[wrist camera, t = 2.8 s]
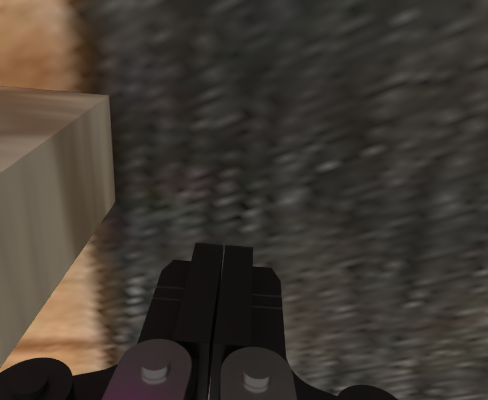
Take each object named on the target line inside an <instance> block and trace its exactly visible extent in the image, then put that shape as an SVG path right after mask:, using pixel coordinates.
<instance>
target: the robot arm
mask: <svg viewBox="0 0 488 400" xmlns="http://www.w3.org/2000/svg"><path fill="white" fill-rule="evenodd" d="M222 259H223V245H218V244H206V243H196V244H195V247H194V252H193V256H192V260H191V261H181V260H173V261H172V262H171V263H170V264H169V265H168V266H167V267H165V268H164V269H163V270H162V271H161V274H160V277H159V280H158V283H157V288H156V289H155V292H154V295H153V299H152V301H151V304H150V307H149V310H148V313H147V316H146V319H145V322H144V325H143V328H142V331H141V334H140V337H139V340H138V343H137V344H136V345H134V346H133V347H131V348H130V349H129V350H127V351H126V352H125V353H124V355H123V356H122V358H121V359H120V361H119V363H118V364H117V365H115V366H113V367H110V368H107V369H105V370H101V371H96V372H91V373H85V374H80V375H74V376H72V373H71V370H70V369H69V367H68V366H67V365H66V364H64V363H63V362H61V361H59V360H56V359H53V358H33V359H29V360H25V361H22V362H20V363H17V364H15V365H13V366H11V367H9V368H8V369H6V370H4V371H2V372H0V400H208V393H209V385H210V377H211V386H210V400H398V399H396V398H395V397H394V396H392V395H391V394H389V393H388V392H386V391H384V390H382V389H379V388H376V387H373V386H368V385H354V386H351V387H348V388H346V389H344V390H343V391H342V392H340V393H339V395H338V396H335V395H333V394H330V393H327V392H324V391H322V390H319V389H317V388H314V387H312V386H310V385H308V384H307V383H305V382H304V381H302V380H301V379H300V378H299V377H298V376H297V375H296V374H295V373H294V372H293V371H292V369H291V368H290V366H289V364H288V362H287V358H286V350H285V336H284V323H283V310H282V298H281V282H280V280H279V278H278V277H277V275H276V274H275V272H274V271H273V270H272V268H265V267H253V247H243V246H231V245H226V246H225V254H224V262H223V270H222ZM221 273H222V278H221ZM211 369H212V371H211Z"/></svg>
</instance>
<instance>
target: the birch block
mask: <svg viewBox="0 0 488 400" xmlns="http://www.w3.org/2000/svg"><path fill="white" fill-rule="evenodd" d="M114 203H115V185H114V169H113V152H112V136H111V120H110V103H109V95H98V94H87V93H75V92H63V91H51V90H39V89H27V88H15V87H4V86H0V368H1V366H2V365H3V364H4V362H5V361H6V359H7V358H8V356H9V355H10V353H11V352H12V351H13V349H14V348H15V346H16V345H17V343H18V342H19V340H20V339H21V338H22V336H23V335H24V333H25V332H26V330H27V329H28V327H29V326H30V324H31V323H32V322H33V320H34V319H35V317H36V316H37V314H38V313H39V311H40V310H41V309H42V307H43V306H44V304H45V303H46V301H47V300H48V298H49V297H50V296H51V294H52V293H53V291H54V290H55V288H56V287H57V285H58V284H59V283H60V281H61V280H62V278H63V277H64V275H65V274H66V272H67V271H68V270H69V268H70V267H71V265H72V264H73V262H74V261H75V259H76V258H77V257H78V255H79V254H80V252H81V251H82V249H83V248H84V246H85V245H86V244H87V242H88V241H89V239H90V238H91V236H92V235H93V233H94V232H95V231H96V229H97V228H98V226H99V225H100V223H101V222H102V220H103V219H104V218H105V216H106V215H107V213H108V212H109V210H110V209H111V207H112V206H113V205H114Z"/></svg>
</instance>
